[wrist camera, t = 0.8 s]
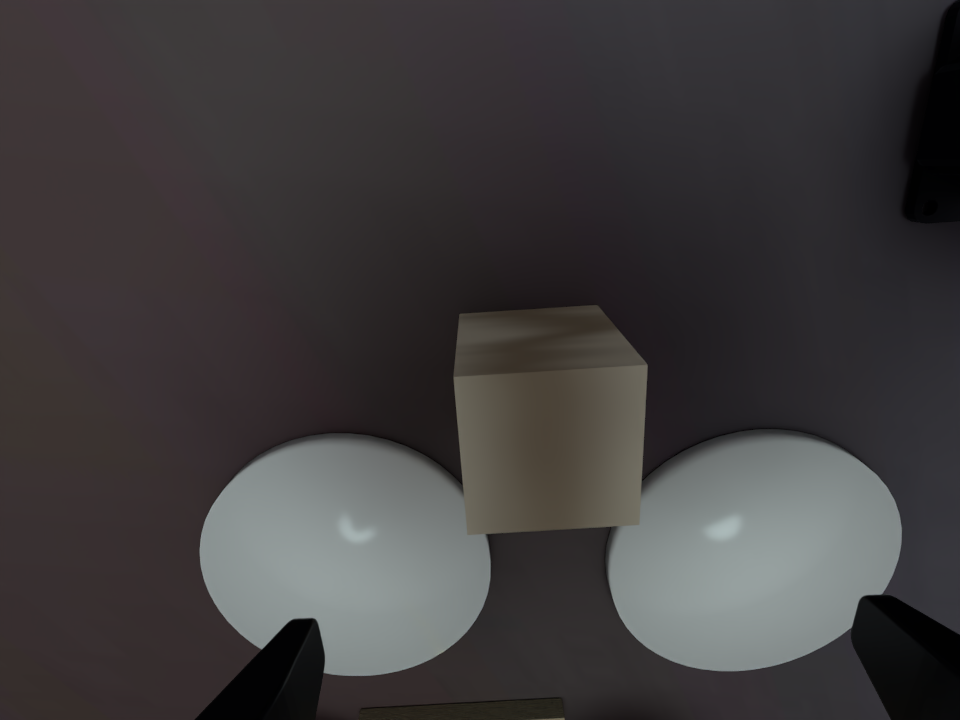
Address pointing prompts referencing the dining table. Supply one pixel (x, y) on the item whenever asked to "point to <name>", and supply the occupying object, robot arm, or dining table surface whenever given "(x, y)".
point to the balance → (472, 711)
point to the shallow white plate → (752, 550)
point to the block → (548, 420)
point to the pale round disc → (347, 551)
